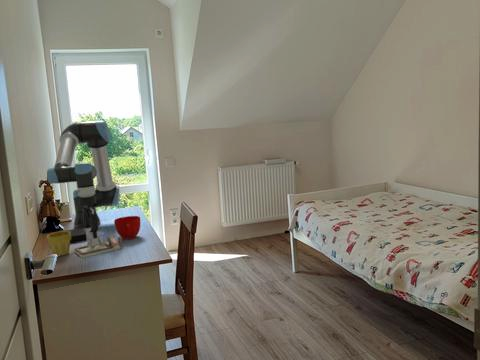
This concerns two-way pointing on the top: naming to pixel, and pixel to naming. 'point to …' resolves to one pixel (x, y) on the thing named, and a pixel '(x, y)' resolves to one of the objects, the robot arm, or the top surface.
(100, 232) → the toy table
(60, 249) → the plant pot
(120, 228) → the ceramic cup
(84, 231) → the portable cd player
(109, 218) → the top surface
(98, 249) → the seating jig
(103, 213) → the top surface
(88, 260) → the top surface
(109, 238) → the bar
